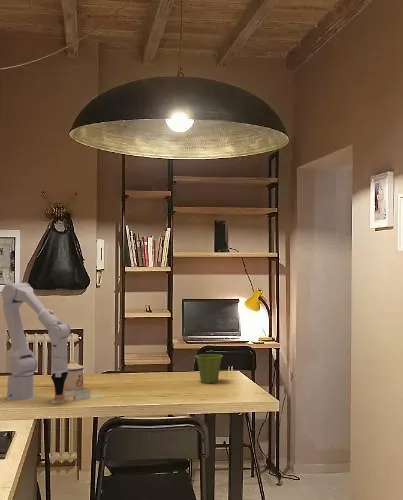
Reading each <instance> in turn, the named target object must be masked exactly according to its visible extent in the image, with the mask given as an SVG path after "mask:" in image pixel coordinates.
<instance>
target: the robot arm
mask: <svg viewBox="0 0 403 500" xmlns="http://www.w3.org/2000/svg"><path fill="white" fill-rule="evenodd" d="M0 292H1V296H2V308H3V313H4V318H5V322H6V326H7V331H8V335H9V336H8V337H9V339H10V344H11V348H12V352H11V354H10V355H9V357H8V361H9V364H8V369H9V372H10V374H11V375H8V377H7V383H6V384H7V388H6V389H7V401H9V400H10V401H14V400H17V401H18V400H33V399H34V398H35V396H36V394H34V374H35V371H36V370H37V369H38V366H39V365H38V360H37V358H36V357H35V355H34V352H33V351H32V350H31V349H29V347H28V344H27V339H26V336H25V332H24V327H23V321H22V318H21V314H20V310H19V308H20V307H21V306H22V304H23V303H24V302H25V303H26V304H27V306H29V307H30V308H31V309H32V310H33V311H34V312H35V313H36V314H37V315H38V316H37V320H38V321H39V322H40V323H41V324H42V326H44V328H45V329H46V330H47V334H48V335H47V336H48V337H49V339H50V340H49V341H50V344H51V368H50V372H51V373H52V374H51V375H50V378H51V380H52V383H53V386H54V393H55V392H56V395H62V393H63V387H64V382H65V379H66V377H67V374H68V372H66V371H68V370H71V368H67V364H68V338H69V337H70V336H71V332H72V331H71V327H70V325H69V323H66V322H63V321H62V320H61V319H59V317H57V316H56V314H55V311H54V310H53V309H52V310H51V309H50V308H46V307H45V306H44V305H43V303H42V302H41V301H40V300H39V299H40V298H38V297H37V295H36V294H35V293H34V288H33V287H31V284H30V283H28V282H17V283H16V282H14V283H13V282H12V283H11V282H8V283H5V284H4V286H3V288H2V290H1V291H0Z"/></svg>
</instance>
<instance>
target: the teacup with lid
mask: <svg viewBox="0 0 403 500" xmlns="http://www.w3.org/2000/svg"><path fill="white" fill-rule="evenodd" d="M67 368H71V370H68V371H66V372H68V374H67V377H66V379H65V392H67V391H71V390H84V365H80V364H78V363H77V362H76V361H75V360H69V363H68V362H67Z"/></svg>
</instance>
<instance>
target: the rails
mask: <svg viewBox="0 0 403 500" xmlns="http://www.w3.org/2000/svg"><path fill="white" fill-rule="evenodd" d="M68 397H73V398H72V399H73V401H74V402H78V401H82V400H90V399H91V389H82V390H71V391H65V398H68Z"/></svg>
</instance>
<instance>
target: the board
mask: <svg viewBox="0 0 403 500" xmlns="http://www.w3.org/2000/svg"><path fill="white" fill-rule="evenodd" d="M95 398H96V399H97V398H99V399H100V398H105V394H90V399H95ZM63 403H65V399H62V400H55V399H54V400H51V404H63Z"/></svg>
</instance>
